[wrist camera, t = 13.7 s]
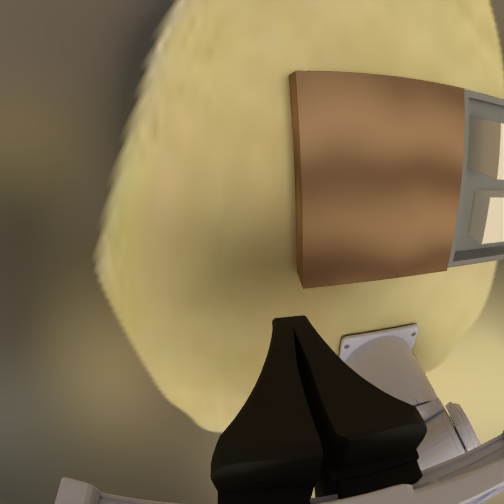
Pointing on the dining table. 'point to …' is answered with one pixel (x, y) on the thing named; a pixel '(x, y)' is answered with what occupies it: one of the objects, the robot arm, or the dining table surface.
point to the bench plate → (374, 175)
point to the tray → (475, 188)
